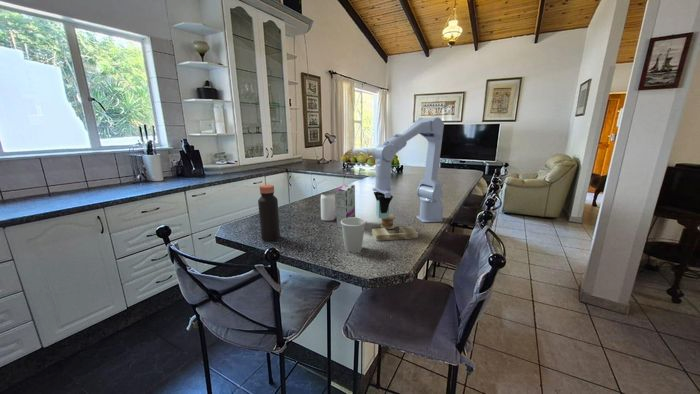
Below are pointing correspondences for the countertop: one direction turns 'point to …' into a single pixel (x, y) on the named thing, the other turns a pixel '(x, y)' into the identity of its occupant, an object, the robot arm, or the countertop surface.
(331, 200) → the can
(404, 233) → the notch board
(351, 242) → the dixie cup
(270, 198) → the bottle
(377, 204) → the pale teal block
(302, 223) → the countertop surface
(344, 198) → the candy bar box
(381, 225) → the spool
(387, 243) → the countertop surface
